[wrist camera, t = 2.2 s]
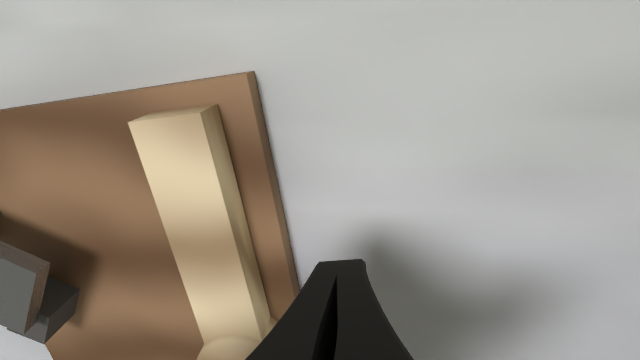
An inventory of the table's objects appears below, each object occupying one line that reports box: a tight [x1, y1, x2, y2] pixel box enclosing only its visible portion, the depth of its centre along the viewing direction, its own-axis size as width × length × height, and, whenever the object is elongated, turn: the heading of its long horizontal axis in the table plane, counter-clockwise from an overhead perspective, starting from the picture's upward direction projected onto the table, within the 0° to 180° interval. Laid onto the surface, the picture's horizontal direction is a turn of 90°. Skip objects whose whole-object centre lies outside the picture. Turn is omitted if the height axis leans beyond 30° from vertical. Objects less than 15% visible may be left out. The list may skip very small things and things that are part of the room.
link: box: [128, 104, 278, 360], centre depth 17 cm, size 15×4×4 cm, turn 9°
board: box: [0, 71, 300, 360], centre depth 20 cm, size 18×16×1 cm
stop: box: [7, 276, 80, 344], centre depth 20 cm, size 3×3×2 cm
